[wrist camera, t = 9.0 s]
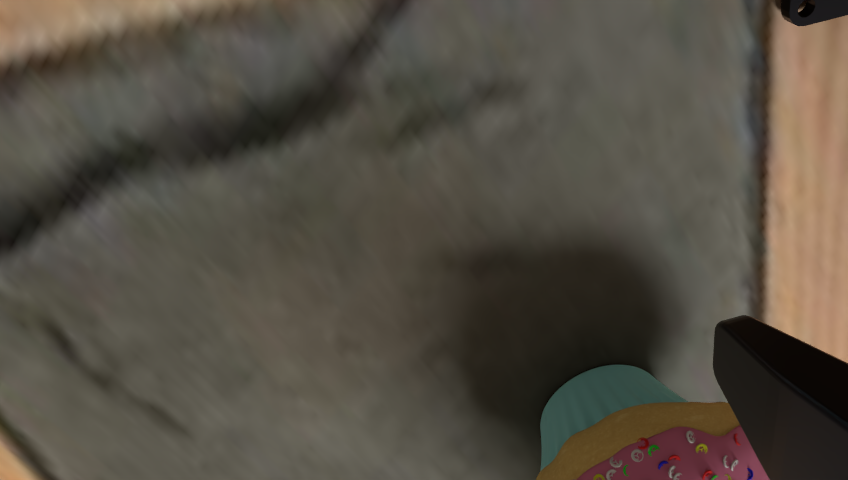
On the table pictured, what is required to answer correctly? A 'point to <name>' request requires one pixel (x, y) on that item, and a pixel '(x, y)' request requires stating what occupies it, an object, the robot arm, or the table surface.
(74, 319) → the table surface
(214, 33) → the table surface
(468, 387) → the table surface
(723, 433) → the cupcake
